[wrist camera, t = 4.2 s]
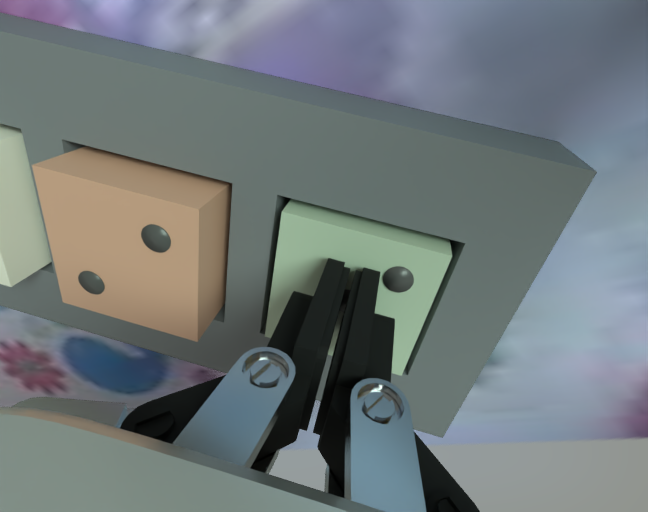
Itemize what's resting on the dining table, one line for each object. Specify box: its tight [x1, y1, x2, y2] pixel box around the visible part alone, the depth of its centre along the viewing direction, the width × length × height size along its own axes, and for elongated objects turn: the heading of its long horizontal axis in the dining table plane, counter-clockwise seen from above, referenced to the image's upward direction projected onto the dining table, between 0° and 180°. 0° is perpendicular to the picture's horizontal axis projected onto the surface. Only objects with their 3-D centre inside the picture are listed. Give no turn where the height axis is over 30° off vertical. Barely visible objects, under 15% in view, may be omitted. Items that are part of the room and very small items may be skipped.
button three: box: [265, 199, 452, 376], centre depth 14 cm, size 5×5×3 cm
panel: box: [0, 13, 597, 438], centre depth 15 cm, size 24×11×3 cm, turn 79°
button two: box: [32, 146, 232, 342], centre depth 13 cm, size 5×5×3 cm
